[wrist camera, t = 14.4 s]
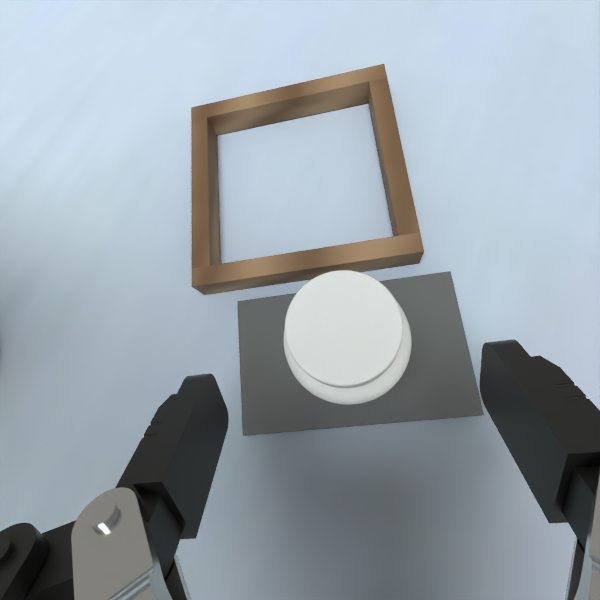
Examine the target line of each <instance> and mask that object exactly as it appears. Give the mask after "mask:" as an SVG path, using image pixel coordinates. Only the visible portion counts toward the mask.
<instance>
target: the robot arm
mask: <svg viewBox="0 0 600 600" xmlns="http://www.w3.org/2000/svg"><path fill="white" fill-rule="evenodd" d="M480 392H481V397H482V400H483V403H484V405H485V407H486V409H487V411H488V413H489V414H490V416H491V418H492V420H493V422H494V424H495V425H496V427H497V429H498V431H499V433H500V434H501V436H502V438H503V440H504V442H505V444H506V445H507V447H508V449H509V451H510V453H511V454H512V456H513V458H514V460H515V462H516V464H517V465H518V467H519V469H520V471H521V473H522V475H523V476H524V478H525V480H526V482H527V484H528V485H529V487H530V489H531V491H532V493H533V495H534V496H535V498H536V500H537V502H538V504H539V505H540V507H541V509H542V511H543V513H544V515H545V516H546V518H547V520H548V522H549V523H563V522H568V523H569V525H570V526H571V528H572V530H573V531H574V533H575V535H576V539H575V542H574V548H573V554H572V560H571V566H570V572H569V578H568V584H567V589H566V595H565V600H600V411H599V409H598V408H597V407H596V406H595V405H594V404H593V403H592V402H591V401H590V400H589V399H586V395H585V394H584V393H583V392H582V391H581V390H580V389H579V388H578V387H577V386H575V385H574V382H573V381H572V380H571V379H570V378H569V377H568V376H567V375H566V374H565V372H564V371H563V370H562V369H561V368H560V367H558V366H556V365H555V364H553V363H551V362H550V361H548V360H546V359H545V358H543V357H541V356H534V357H530V356H529V354H528V353H527V352H526V351H525V350H524V349H523V347H522V346H521V345H520V344H519V343H518V342H517V341H516V340H506V341H497V342H488V343H484V345H483V348H482V359H481V373H480ZM227 429H228V411H227V408H226V405H225V402H224V400H223V397H222V395H221V392H220V390H219V387H218V385H217V382H216V380H215V377H214V376H213V375H212V374H203V375H194V376H187V377H186V378H185V379H184V381H183V383H182V385H181V387H180V389H179V391H178V393H177V394H174V395H171V396H170V397H169V398H168V399H167V400H166V401H165V402H164V403H163V404H162V405H161V406H160V407H159V408H158V410H157V412H156V414H155V415H154V417H153V419H152V421H151V425H150V426H149V427H148V428H147V430H146V432H145V434H144V438H142V440H141V441H140V443H139V445H138V447H137V449H136V451H135V453H134V454H133V456H132V458H131V460H130V462H129V464H128V466H127V467H126V469H125V471H124V473H123V475H122V477H121V479H120V480H119V482H118V484H117V486H116V488H115V489H112V490H109V491H107V492H105V493H103V494H101V495H100V496H98V497H97V498H95V499H94V500H93V501H92V502H91V503H90V504H89V505H88V506H87V507H86V508H85V509H84V510H83V511H82V513H81V514H80V515H79V517H78V519H77V520H76V521H73V522H71V523H68V524H66V525H63V526H60V527H58V528H55V529H53V530H50V531H47V532H45V533H42V534H41V533H40V532H39V531H38V530H37V529H36V528H35V527H34V526H33V525H31V524H29V523H19V524H15V525H12V526H10V527H8V528H6V529H4V530H2V531H1V532H0V600H191V598H190V594H189V591H188V588H187V585H186V582H185V579H184V576H183V572H182V569H181V566H180V563H179V560H178V557H177V555H176V554H175V553H176V550H177V547H178V544H179V541H180V539H193V538H196V536H197V533H198V529H199V526H200V522H201V519H202V515H203V512H204V508H205V505H206V501H207V498H208V495H209V491H210V488H211V484H212V481H213V477H214V474H215V470H216V467H217V463H218V460H219V457H220V453H221V450H222V446H223V443H224V439H225V436H226V432H227Z"/></svg>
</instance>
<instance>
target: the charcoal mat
mask: <svg viewBox="0 0 600 600" xmlns="http://www.w3.org/2000/svg"><path fill="white" fill-rule="evenodd" d="M379 282H380V283H381V284H383V285H384V286H385V287H386V288H387V289H388V290H389V291H390V293H391V294H392V295H393V297H394V298H395V300H396V301H397V302H398V304H399V305H400V307H401V308H402V310H403V312H404V314H405V316H406V318H407V320H408V323H409V327H410V332H411V341H412V344H411V354H410V358H409V362H408V364H407V367H406V369H405V371H404V373H403V375H402V376H401V378H400V379H399V380H398V382H397V383H396V384H395V385H394V386H393V387H392V388H391V389H390V390H389V391H388V392H386V393H385V394H384V395H382V396H380V397H378V398H376V399H374V400H372V401H369V402H365V403H361V404H354V405H343V404H336V403H332V402H328V401H326V400H323V399H321V398H319V397H317V396H315V395H313V394H312V393H311V392H309V391H308V390H307V389H305V388H304V387H303V386H302V385H301V384H300V382H299V381H298V380H297V379H296V377H295V376H294V374H293V372H292V371H291V369H290V367H289V364H288V362H287V359H286V355H285V351H284V329H285V319H286V314H287V311H288V308H289V306H290V303H291V301H292V300H293V298H294V296H295V295H296V294H297V293H294V294H287V295H280V296H273V297H266V298H259V299H252V300H245V301H238V326H239V350H240V375H241V399H242V423H243V436H244V435H256V434H268V433H280V432H291V431H303V430H315V429H326V428H338V427H350V426H362V425H373V424H385V423H397V422H408V421H420V420H432V419H443V418H455V417H467V416H479V415H484V414H483V410H482V406H481V401H480V397H479V393H478V388H477V384H476V380H475V375H474V371H473V367H472V362H471V358H470V354H469V350H468V345H467V341H466V337H465V332H464V328H463V324H462V319H461V315H460V311H459V307H458V302H457V298H456V294H455V289H454V285H453V281H452V276H451V272H443V273H435V274H428V275H421V276H414V277H407V278H400V279H393V280H386V281H379Z"/></svg>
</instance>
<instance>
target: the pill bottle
mask: <svg viewBox="0 0 600 600" xmlns="http://www.w3.org/2000/svg"><path fill="white" fill-rule="evenodd" d="M411 344H412V341H411V332H410V327H409V323H408V320H407V318H406V316H405V314H404V312H403V310H402V308H401V307H400V305H399V304H398V302H397V301H396V300H395V298H394V297H393V295H392V294H391V293H390V291H389V290H388V289H387V288H386V287H385V286H384V285H383V284H381V283H380V282H379V281H377V280H376V279H374V278H372V277H371V276H368V275H366V274H363V273H360V272H356V271H350V270H339V271H332V272H328V273H324V274H322V275H319V276H317V277H315V278H314V279H312V280H310V281H309V282H308V283H306V284H305V285H304V286H303V287H302V288H301V289H300V290H299V291H298V292H297V294H296V295H295V296H294V298H293V300H292V301H291V303H290V306H289V308H288V311H287V314H286V319H285V329H284V351H285V355H286V359H287V362H288V364H289V367H290V369H291V371H292V372H293V374H294V376H295V377H296V379H297V380H298V381H299V382H300V384H301V385H302V386H303V387H304V388H305V389H307V390H308V391H309V392H311V393H312V394H313V395H315V396H317V397H319V398H321V399H323V400H326V401H328V402H332V403H336V404H343V405H354V404H361V403H365V402H369V401H372V400H374V399H376V398H378V397H380V396H382V395H384V394H385V393H386V392H388V391H389V390H390V389H391V388H392V387H393V386H394V385H395V384H396V383H397V382H398V380H399V379H400V378H401V376H402V375H403V373H404V371H405V369H406V367H407V364H408V362H409V358H410V354H411Z"/></svg>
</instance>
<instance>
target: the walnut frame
mask: <svg viewBox="0 0 600 600" xmlns="http://www.w3.org/2000/svg"><path fill="white" fill-rule="evenodd" d="M366 103H369V108H370V113H371V119H372V124H373V129H374V135H375V140H376V145H377V151H378V156H379V161H380V167H381V172H382V177H383V183H384V188H385V193H386V199H387V204H388V209H389V215H390V220H391V225H392V231H393V236H394V237H388V238H382V239H375V240H369V241H363V242H356V243H350V244H344V245H337V246H331V247H325V248H319V249H312V250H306V251H300V252H293V253H287V254H281V255H274V256H268V257H262V258H255V259H249V260H243V261H236V262H230V263H224V264H221V263H220V227H219V191H218V154H217V135H220V134H225V133H230V132H234V131H239V130H244V129H248V128H253V127H258V126H263V125H267V124H272V123H277V122H281V121H286V120H291V119H295V118H300V117H305V116H310V115H314V114H319V113H324V112H328V111H333V110H338V109H342V108H347V107H352V106H357V105H361V104H366ZM191 118H192V287H193V288H195V289H196V290H198V291H199V292H201V293H202V294H204V295H206V294H213V293H219V292H226V291H233V290H240V289H247V288H254V287H260V286H267V285H274V284H281V283H288V282H295V281H301V280H308V279H314V278H315V277H317V276H319V275H322V274H324V273H328V272H332V271H339V270H350V271H356V272H363V271H370V270H377V269H383V268H390V267H397V266H404V265H411V264H418V263H419V262H420V260H421V257H422V255H423V253H424V249H423V245H422V240H421V235H420V231H419V226H418V221H417V216H416V212H415V207H414V202H413V198H412V193H411V188H410V184H409V179H408V174H407V169H406V165H405V160H404V155H403V151H402V146H401V141H400V136H399V132H398V127H397V122H396V118H395V113H394V108H393V104H392V99H391V94H390V89H389V85H388V80H387V75H386V71H385V66H384V64H382V65H377V66H373V67H368V68H364V69H360V70H355V71H351V72H346V73H342V74H338V75H333V76H329V77H324V78H320V79H316V80H311V81H307V82H302V83H298V84H294V85H289V86H285V87H280V88H276V89H272V90H267V91H263V92H258V93H254V94H249V95H245V96H241V97H236V98H232V99H227V100H223V101H219V102H214V103H210V104H205V105H201V106H197V107H192V108H191Z"/></svg>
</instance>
